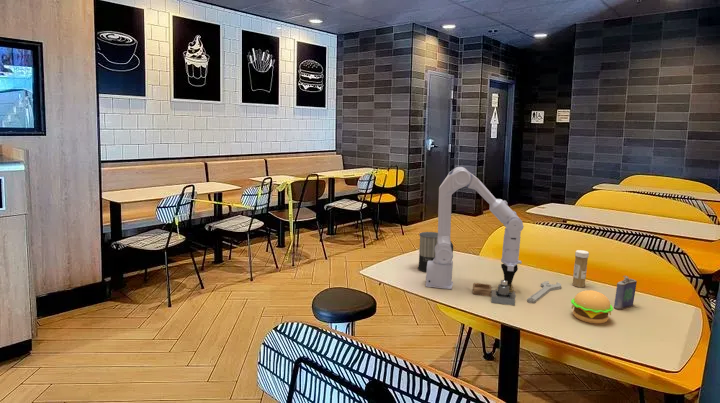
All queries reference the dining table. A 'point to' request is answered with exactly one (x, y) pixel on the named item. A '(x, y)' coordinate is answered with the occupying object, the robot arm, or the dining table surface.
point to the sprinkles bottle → (580, 268)
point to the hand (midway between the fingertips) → (507, 284)
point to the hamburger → (591, 307)
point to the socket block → (503, 298)
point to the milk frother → (427, 249)
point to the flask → (625, 293)
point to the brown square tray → (481, 289)
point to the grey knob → (503, 289)
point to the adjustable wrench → (543, 291)
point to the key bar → (510, 287)
